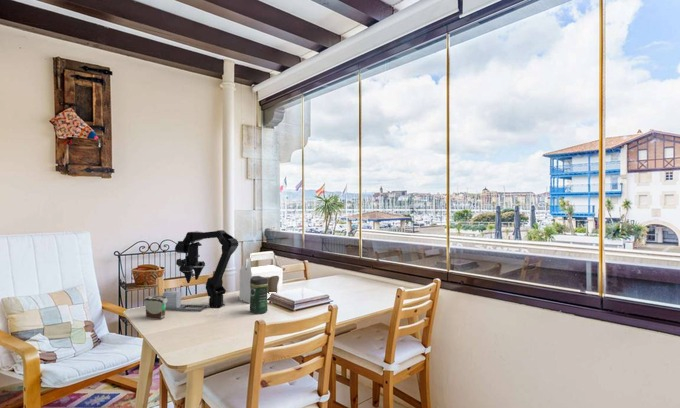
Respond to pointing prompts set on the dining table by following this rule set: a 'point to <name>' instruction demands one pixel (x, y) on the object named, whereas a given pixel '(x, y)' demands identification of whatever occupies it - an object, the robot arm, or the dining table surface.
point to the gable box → (260, 274)
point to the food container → (155, 306)
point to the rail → (182, 308)
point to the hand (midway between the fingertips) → (192, 281)
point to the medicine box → (173, 299)
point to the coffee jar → (258, 294)
